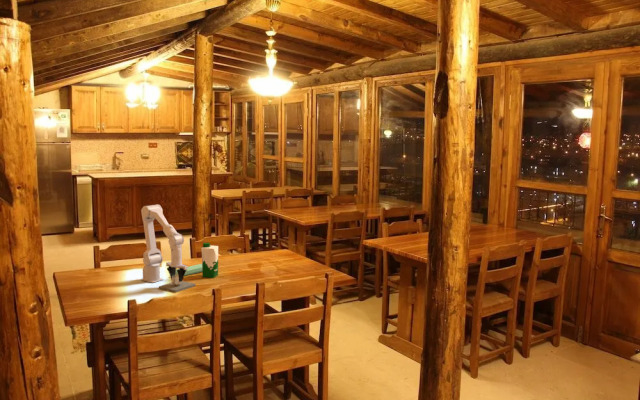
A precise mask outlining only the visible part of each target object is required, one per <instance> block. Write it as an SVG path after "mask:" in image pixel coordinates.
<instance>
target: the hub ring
mask: <svg viewBox="0 0 640 400" xmlns="http://www.w3.org/2000/svg"><path fill="white" fill-rule="evenodd" d="M171 282H172V284H181V283H182V281H181V282H179V276H178V275H172V280H171Z"/></svg>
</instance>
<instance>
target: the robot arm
mask: <svg viewBox="0 0 640 400" xmlns="http://www.w3.org/2000/svg"><path fill="white" fill-rule="evenodd" d="M140 212H141V218H142V222H143V230H144V236H145V243H146V244H145V245H146V250H145V251H144V252H143V254H142V255H143V259H142V262H143V265H144V266H143V267H142V279H141V281H142V282H143V281H144V282H148V283H153V284H154V283H157V282H161V281H163V280H164V278H162V277H161V274H160V273H161V271H160V268H161V267H160V266H161V265H162V263H163V260H164V259H163V255H162V252H161V249H159V248H157V241H156V240H157V239H156V235H155V227H154V221H155V220H156V221H157V222H158V223H159V224H160V225H161V227H162V228H163V229H162V232H163V233H164V234H165V236H166V237H167V239H168V240H167V241H168V245H169V248H170V258H171V259H170V261H168V262H166V263H165V267H166V270H167V272H168V273H169V276H170V279H171V281H172V275H175V272H176V269H178V270H177V272H178V276H179V282H181V281H184V277H185V276H184V274H185V272H186V270H187V269H188V267H189V266H188V265H186V264H184V263H183V256H182V255H183V249H182V248H183V247H182V246H183V245H184V241H185V240H184V236H183V234H181V233H179V232H177V230H176V229H175V227H174V226H173V225H172V224H169V222H168V221H167V219H166V217H165V216H164V213H163V208H162V206H161V205H160V204H157V203H156V204H152V205H143V207H142V208H141V210H140Z"/></svg>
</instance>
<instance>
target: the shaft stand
mask: <svg viewBox="0 0 640 400" xmlns="http://www.w3.org/2000/svg"><path fill="white" fill-rule="evenodd" d="M193 287H196V283H194V282H189V281H185V280H183V281H182V283H181V284H172V281H171V282H169V283H165V284H163V285H158V290H162V291H163V290H164V291H166V292H167V291H168V292H171V293H178V292H181V291H185V290H187V289H190V288H193Z"/></svg>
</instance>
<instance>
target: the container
mask: <svg viewBox="0 0 640 400" xmlns="http://www.w3.org/2000/svg"><path fill="white" fill-rule="evenodd" d="M178 269H179V268H176V272H175V275H178V272H177V270H178ZM199 273H202V263H199V264H194V265H190V266H188V269H187V270H186V272H185V274H184V277H185V276H191V275H195V274H199Z"/></svg>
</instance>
